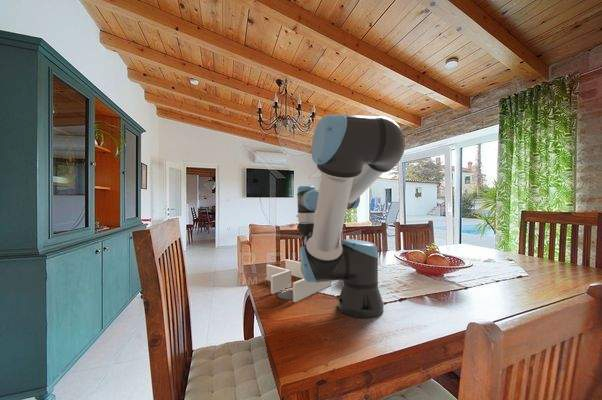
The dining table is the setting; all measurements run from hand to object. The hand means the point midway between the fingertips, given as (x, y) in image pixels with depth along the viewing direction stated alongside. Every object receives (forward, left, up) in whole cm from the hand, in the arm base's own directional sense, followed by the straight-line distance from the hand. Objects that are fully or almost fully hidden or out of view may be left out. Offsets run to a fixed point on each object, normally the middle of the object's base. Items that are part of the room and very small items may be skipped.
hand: (307, 276), depth 109 cm
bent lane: (+7, +3, -4) cm, 9 cm away
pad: (0, +12, -4) cm, 12 cm away
